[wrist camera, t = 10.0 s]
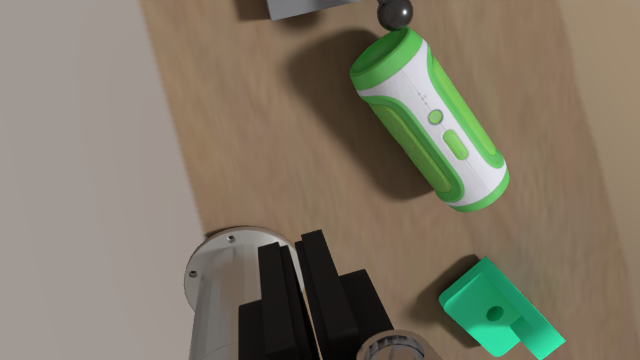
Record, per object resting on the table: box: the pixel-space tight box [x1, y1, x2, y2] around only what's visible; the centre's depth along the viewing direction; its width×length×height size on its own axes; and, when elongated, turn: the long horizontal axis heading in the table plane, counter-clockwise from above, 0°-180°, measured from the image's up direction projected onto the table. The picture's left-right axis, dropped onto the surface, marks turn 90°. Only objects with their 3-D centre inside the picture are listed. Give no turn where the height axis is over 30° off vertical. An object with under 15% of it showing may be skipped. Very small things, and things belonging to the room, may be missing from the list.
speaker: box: [350, 27, 509, 212], centre depth 44 cm, size 18×7×8 cm, turn 39°
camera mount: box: [439, 256, 565, 360], centre depth 53 cm, size 12×8×10 cm, turn 43°
